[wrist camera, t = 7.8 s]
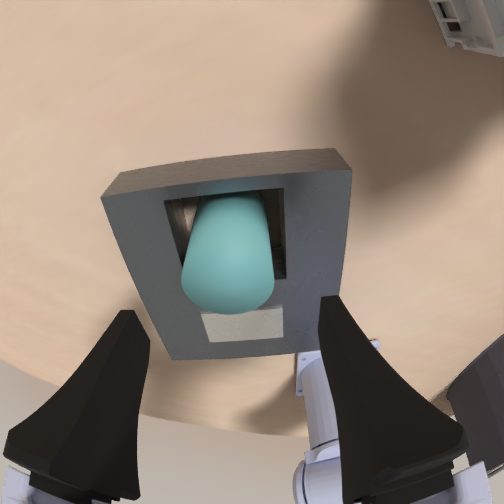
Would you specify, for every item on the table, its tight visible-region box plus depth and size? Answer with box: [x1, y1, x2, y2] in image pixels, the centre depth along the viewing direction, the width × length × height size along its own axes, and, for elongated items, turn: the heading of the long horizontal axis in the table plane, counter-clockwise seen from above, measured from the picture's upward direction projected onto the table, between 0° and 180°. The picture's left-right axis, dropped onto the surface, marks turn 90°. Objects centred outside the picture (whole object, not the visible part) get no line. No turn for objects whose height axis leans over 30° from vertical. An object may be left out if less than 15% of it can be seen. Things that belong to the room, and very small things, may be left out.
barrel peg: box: [181, 190, 274, 315], centre depth 15 cm, size 4×4×6 cm
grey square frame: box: [100, 149, 352, 360], centre depth 19 cm, size 14×12×3 cm
